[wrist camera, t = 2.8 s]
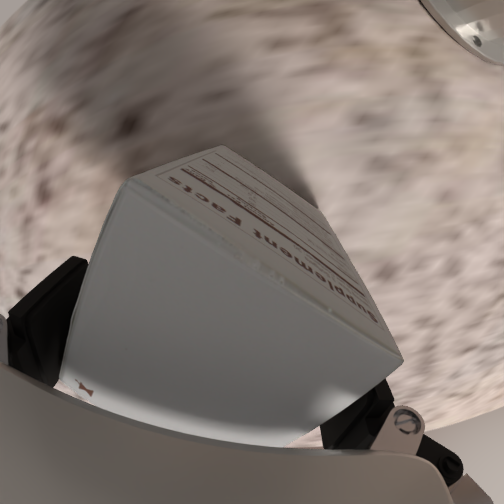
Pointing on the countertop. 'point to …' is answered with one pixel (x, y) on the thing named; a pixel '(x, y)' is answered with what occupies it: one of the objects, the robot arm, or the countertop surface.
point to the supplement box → (223, 308)
